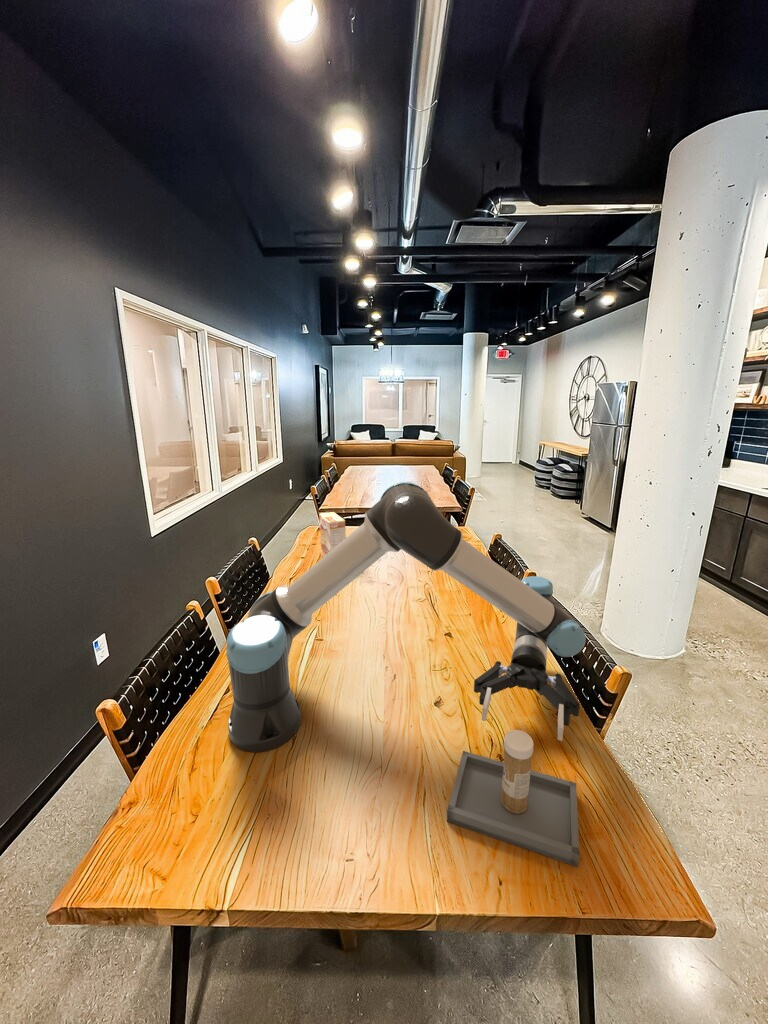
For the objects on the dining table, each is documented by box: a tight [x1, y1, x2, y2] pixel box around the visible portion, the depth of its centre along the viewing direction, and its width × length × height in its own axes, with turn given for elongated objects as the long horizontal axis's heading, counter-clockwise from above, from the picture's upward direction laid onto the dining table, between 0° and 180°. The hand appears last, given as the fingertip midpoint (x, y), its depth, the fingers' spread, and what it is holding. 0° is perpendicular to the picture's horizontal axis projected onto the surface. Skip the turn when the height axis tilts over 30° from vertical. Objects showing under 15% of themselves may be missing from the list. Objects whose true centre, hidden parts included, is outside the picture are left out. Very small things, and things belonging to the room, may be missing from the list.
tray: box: [446, 750, 580, 868], centre depth 73 cm, size 20×13×2 cm, turn 68°
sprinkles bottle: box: [500, 729, 534, 814], centre depth 72 cm, size 5×5×14 cm
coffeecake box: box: [318, 511, 347, 558], centre depth 182 cm, size 15×7×20 cm, turn 25°
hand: (521, 724), depth 79 cm, fingers open, 13 cm apart
